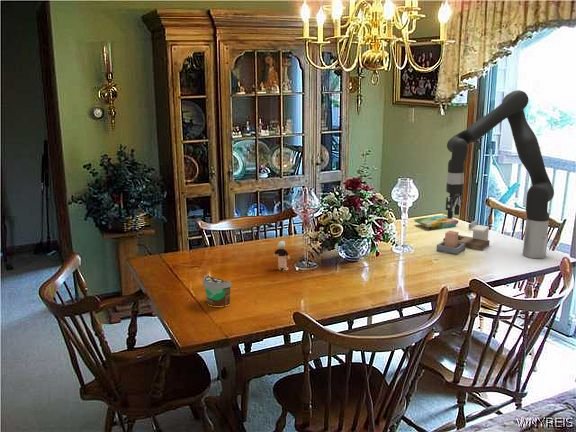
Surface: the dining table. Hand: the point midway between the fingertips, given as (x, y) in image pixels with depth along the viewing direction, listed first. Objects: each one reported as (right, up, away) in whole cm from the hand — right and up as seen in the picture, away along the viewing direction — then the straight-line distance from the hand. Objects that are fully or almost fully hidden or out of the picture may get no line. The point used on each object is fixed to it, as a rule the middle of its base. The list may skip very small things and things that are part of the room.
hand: (453, 216), depth 255 cm
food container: (-103, -33, -52) cm, 120 cm away
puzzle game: (+4, -6, +45) cm, 45 cm away
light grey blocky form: (+14, -12, +9) cm, 21 cm away
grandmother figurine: (-79, -23, -17) cm, 84 cm away
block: (0, -15, +5) cm, 16 cm away
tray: (0, -16, +5) cm, 17 cm away
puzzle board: (+10, -13, +13) cm, 22 cm away
